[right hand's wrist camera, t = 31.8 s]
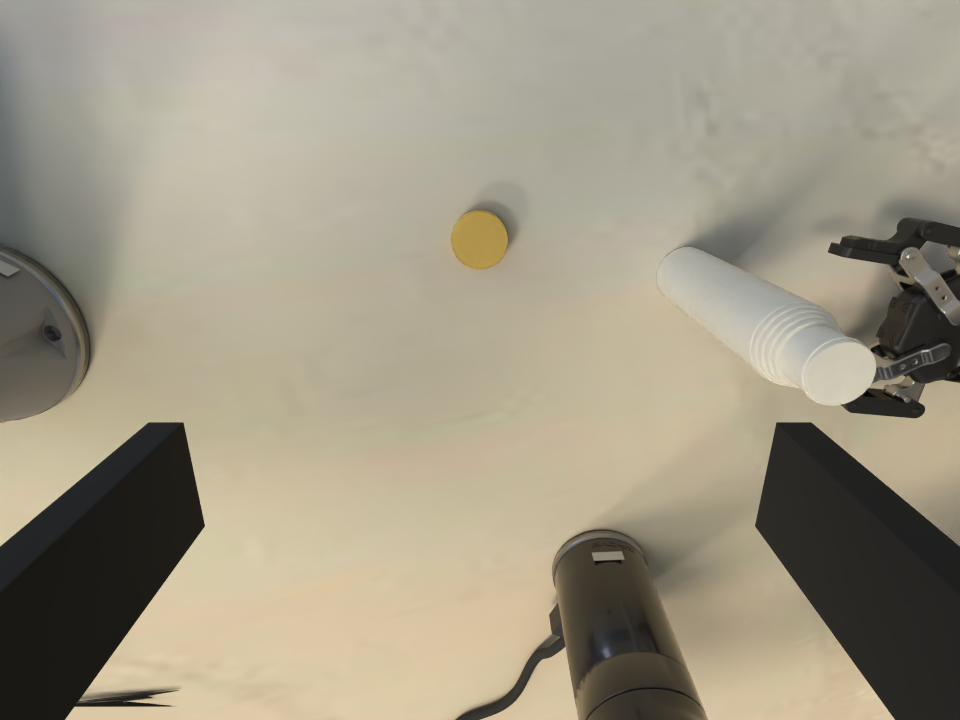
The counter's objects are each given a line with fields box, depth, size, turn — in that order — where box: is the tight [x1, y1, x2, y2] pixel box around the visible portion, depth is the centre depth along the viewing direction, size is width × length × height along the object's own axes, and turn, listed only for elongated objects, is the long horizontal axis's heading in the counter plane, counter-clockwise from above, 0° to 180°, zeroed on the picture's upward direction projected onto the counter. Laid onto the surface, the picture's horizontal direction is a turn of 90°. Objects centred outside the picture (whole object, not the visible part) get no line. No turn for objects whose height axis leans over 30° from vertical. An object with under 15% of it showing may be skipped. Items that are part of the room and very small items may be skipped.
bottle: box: [656, 247, 876, 406], centre depth 37 cm, size 5×5×22 cm
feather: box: [74, 690, 178, 707], centre depth 63 cm, size 2×28×2 cm
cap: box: [451, 210, 508, 269], centre depth 45 cm, size 4×4×2 cm
